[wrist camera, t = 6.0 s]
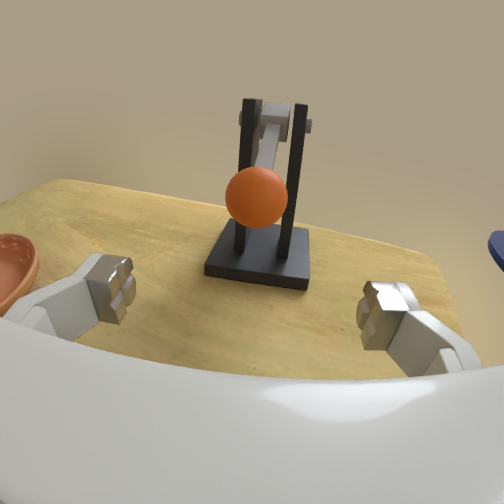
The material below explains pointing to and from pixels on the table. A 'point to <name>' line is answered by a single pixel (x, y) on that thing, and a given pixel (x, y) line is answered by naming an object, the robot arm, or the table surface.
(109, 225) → the table surface
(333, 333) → the table surface
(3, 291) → the saucer
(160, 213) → the table surface
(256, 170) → the lever
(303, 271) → the switch base
